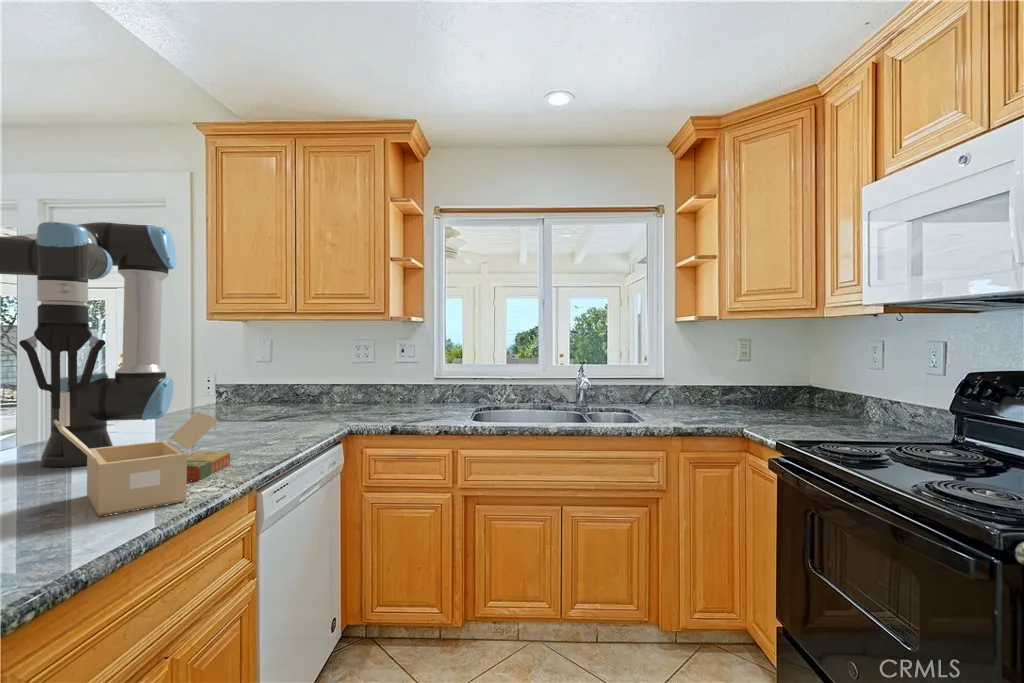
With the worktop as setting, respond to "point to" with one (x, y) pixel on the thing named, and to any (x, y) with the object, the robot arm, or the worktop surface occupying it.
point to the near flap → (75, 440)
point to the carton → (206, 464)
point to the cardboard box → (136, 477)
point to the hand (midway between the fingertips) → (64, 425)
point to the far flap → (193, 430)
